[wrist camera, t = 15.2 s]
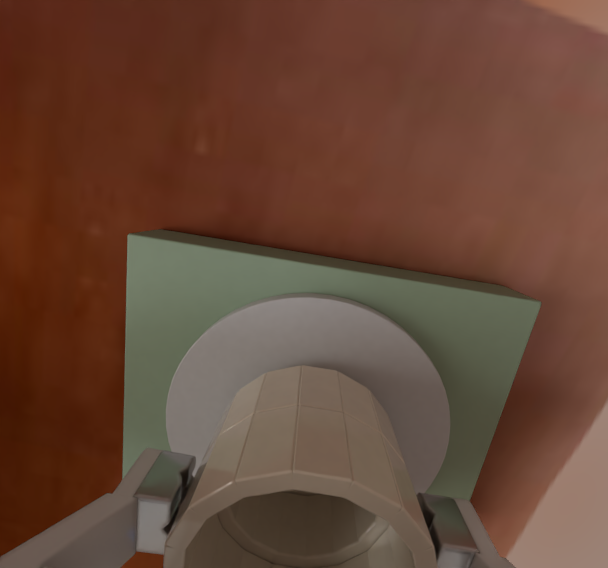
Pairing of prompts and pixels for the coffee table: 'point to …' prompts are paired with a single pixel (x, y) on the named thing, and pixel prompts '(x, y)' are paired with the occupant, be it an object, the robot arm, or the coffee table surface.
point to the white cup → (301, 483)
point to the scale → (317, 346)
